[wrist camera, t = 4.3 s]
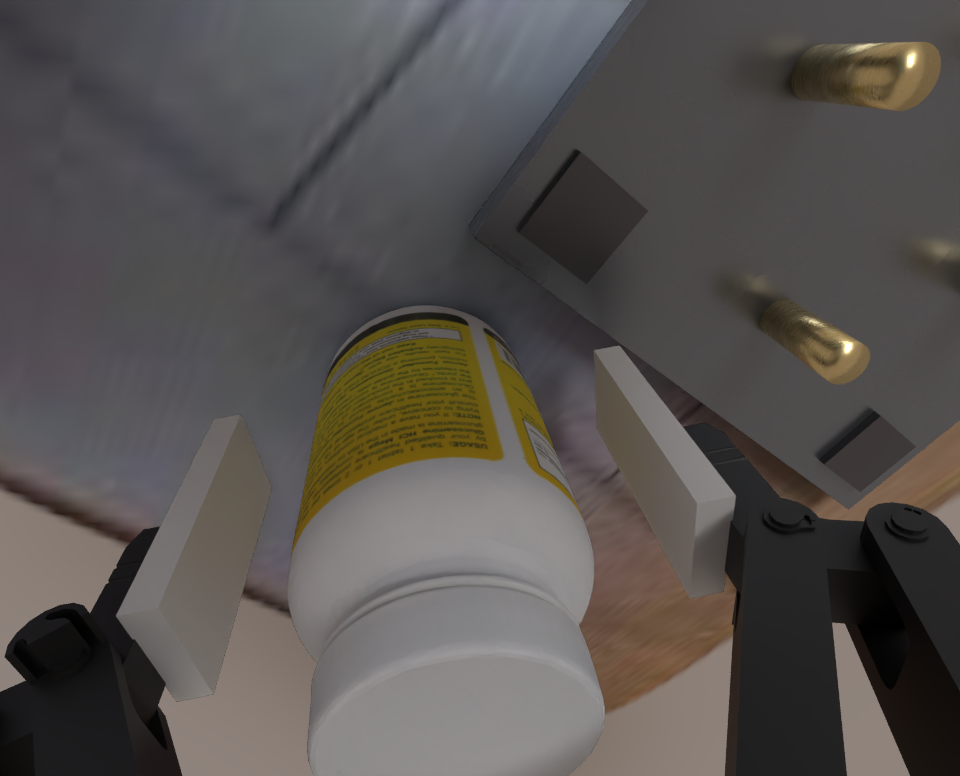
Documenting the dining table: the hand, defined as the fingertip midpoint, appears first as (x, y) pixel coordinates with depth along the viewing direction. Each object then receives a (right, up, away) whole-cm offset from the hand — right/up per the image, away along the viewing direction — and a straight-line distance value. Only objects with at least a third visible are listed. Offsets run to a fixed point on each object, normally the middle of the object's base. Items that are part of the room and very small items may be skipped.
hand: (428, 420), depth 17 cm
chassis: (+13, +7, 0) cm, 15 cm away
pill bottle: (0, +1, +2) cm, 2 cm away
